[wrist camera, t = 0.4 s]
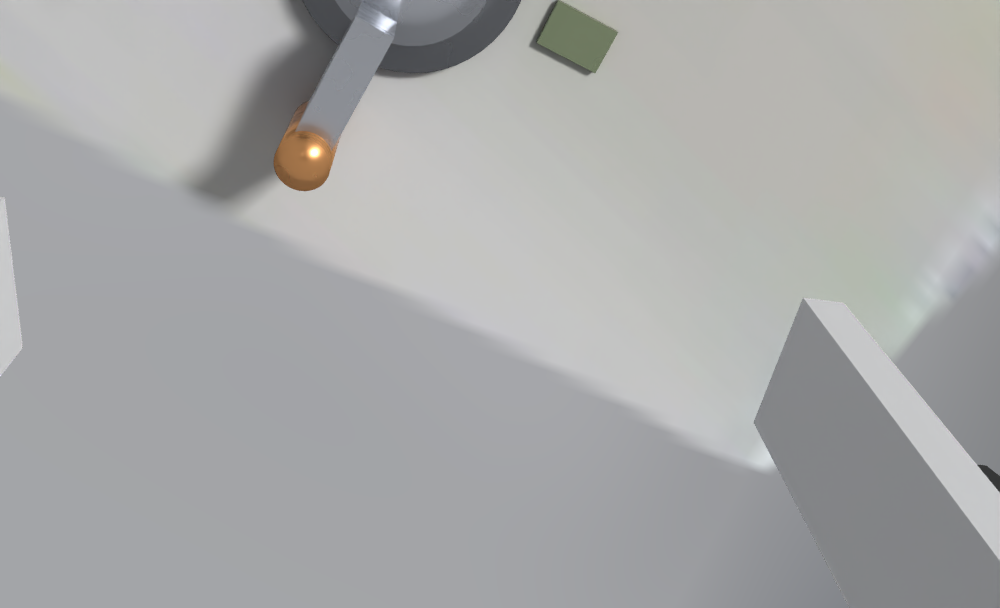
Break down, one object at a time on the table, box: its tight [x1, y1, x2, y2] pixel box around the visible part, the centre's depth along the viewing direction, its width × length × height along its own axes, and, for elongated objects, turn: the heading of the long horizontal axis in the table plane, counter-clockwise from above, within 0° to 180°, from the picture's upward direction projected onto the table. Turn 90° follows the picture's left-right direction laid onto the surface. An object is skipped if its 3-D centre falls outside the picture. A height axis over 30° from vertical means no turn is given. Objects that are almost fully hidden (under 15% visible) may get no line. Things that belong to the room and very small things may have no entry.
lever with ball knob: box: [274, 0, 487, 191], centre depth 34 cm, size 13×7×5 cm, turn 148°
